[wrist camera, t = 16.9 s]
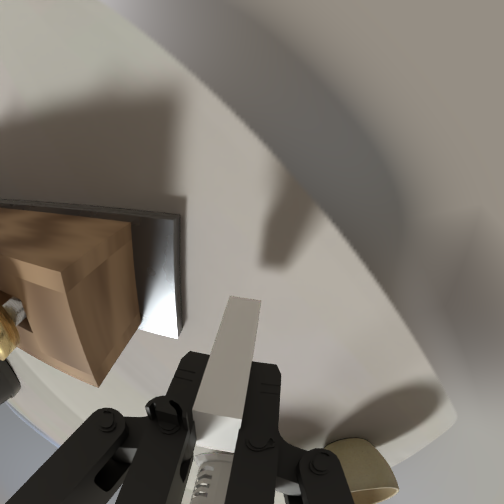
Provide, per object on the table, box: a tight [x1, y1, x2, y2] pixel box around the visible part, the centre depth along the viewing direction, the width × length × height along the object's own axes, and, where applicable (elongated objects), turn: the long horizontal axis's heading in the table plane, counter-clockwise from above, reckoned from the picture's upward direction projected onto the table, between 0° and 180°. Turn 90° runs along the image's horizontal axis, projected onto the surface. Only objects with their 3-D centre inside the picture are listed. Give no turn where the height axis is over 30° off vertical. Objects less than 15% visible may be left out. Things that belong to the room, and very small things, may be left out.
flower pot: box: [324, 438, 399, 504], centre depth 20 cm, size 10×10×7 cm
